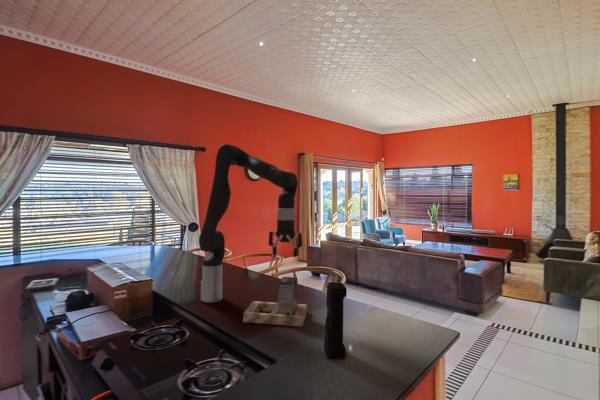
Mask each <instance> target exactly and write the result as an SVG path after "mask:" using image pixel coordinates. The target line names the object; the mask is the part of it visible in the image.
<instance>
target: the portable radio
mask: <svg viewBox="0 0 600 400" xmlns="http://www.w3.org/2000/svg"><path fill="white" fill-rule="evenodd" d="M345 298H347V287H346V286H345V284H344V283H343V282H342V279H339V281H330V282H329V281H328V282H327V284H326V318H325V325H324V327H325V328H324V341H323V349H324V352H325V353H324V354H325V356H326V358H327V359H328V360H329V359H335V360H343V358H344V359H346V358H347V357H346V356H347V353H346V351H347V349H346V347H345V345H344V300H345Z"/></svg>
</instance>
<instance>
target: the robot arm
mask: <svg viewBox="0 0 600 400" xmlns="http://www.w3.org/2000/svg"><path fill="white" fill-rule="evenodd" d="M231 166H237V167H242V168H245V169H247V170H249V171H250V172H251V173H253V174H254V175H256V176H258V177H259V178H262V179H263V180H266V181H269V182H270V183H271V184H273V185H275V186H276V187H279V188H281V189H282V190H281V193H280V194H279V195H278V199H277V212H276V213H277V214H276V215H277V216H276V231H273V230H272V231H270V232H269V233H268V234H269V235H268V246H271V247H272V255H273V256H274V257H276V256H277V255H278V253H277V252H278V247H277V246H278V245H279V244H280V243H287V244H288V243H290V244H291V245H292V246H293V258H296V257H297V256H298V252H299V251H298V250H299V249H300V248H302V247H303V235H302V232H295V227H296V226H295V223H296V222H295V220H296V214H295V213H296V211H295V202H296V201H295V197H296V193H297V190H298V177H297V175H296V174H295V173H294V172H290V171H285V170H282V169H279V168H278V167H277V166H276V165H274V164H271V163H269V162H266V161H264V160H261V159H259V158H256V157H254V156H252V155H250V154H249V153H247V152H245V151H244V150H243V149H242V148H240V147H238V146H236V145H232V144H228V143H223V144H221V145H220V146H219V147H218V149H217V152H216V156H215V165H214V174H213V179H212V180H213V181H212V185H211V191H210V194H209V199H208V205H207V208H206V213H205V219H204V222H203V225H202V228H201V231H200V234H199V239H198V245H199V246H198V247H199V249H200V250H201V251H202V252H208V253H207V254H206V256H205V257H203V259H202V280H201V281H200V301H201V302H203V303H209V304H210V303H211V304H212V303H218V302H220V301H222V300H223V261H224V258H225V249H226V248H225V245H226V241H225V236H224V234H223V233H222V231H220V230H217V227H218V225H219V223H220V222H221V220H222V218H223V217H224V216H225V213H226V212H227V210H228V208H229V205H230V201H231V196H232V195H231V194H232V191H231V186H230V182H229V174H230V173H229V171H230V168H231ZM275 236H276V237H277V239H276V240H275V242H274V237H275ZM295 237H296V238H297V239H298V240H297V241H298V243H297V242H296V240H295V239H294V238H295Z"/></svg>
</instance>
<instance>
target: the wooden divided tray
mask: <svg viewBox="0 0 600 400" xmlns="http://www.w3.org/2000/svg"><path fill="white" fill-rule="evenodd" d="M307 306H308V304H304V303H303V304H302V303H297V311H296V313H295V315H285V314H278V302H273V301H260V300H259V301H256V300H254V301H252V302H251V303H250V305H249V306H248V307H247V308H246V309H245V310H244V312H243V314H242V322H243V323H251V324H253V323H254V324H266V325H277V326H279V325H281V326H291V327H292V326H294V327H303V325H304V321H305V319H306V316H307V308H308V307H307ZM267 312H268V313H267ZM269 312H270V313H269Z"/></svg>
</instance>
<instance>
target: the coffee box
mask: <svg viewBox="0 0 600 400" xmlns="http://www.w3.org/2000/svg"><path fill="white" fill-rule="evenodd" d="M277 283H278V284H277V297H278V298H277V303H278V314H285V315H295V313H296V311H297V304H298V277H297V276H296V277H294V276H283V277H282V278H280V280H279V281H278V282H277Z"/></svg>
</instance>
